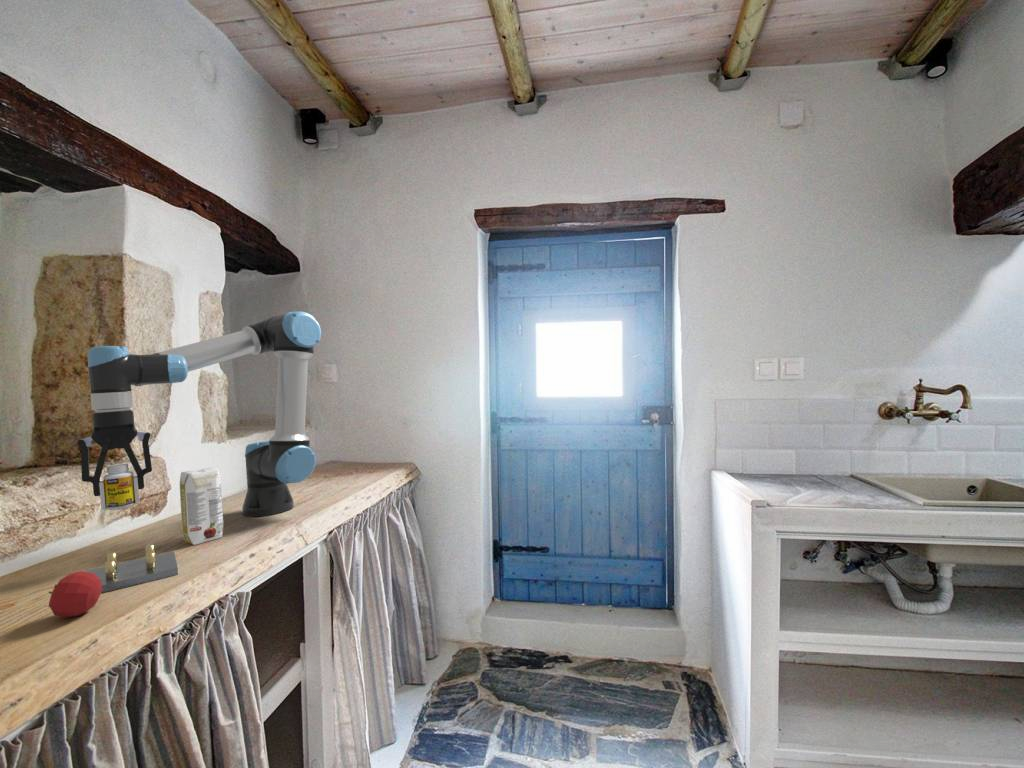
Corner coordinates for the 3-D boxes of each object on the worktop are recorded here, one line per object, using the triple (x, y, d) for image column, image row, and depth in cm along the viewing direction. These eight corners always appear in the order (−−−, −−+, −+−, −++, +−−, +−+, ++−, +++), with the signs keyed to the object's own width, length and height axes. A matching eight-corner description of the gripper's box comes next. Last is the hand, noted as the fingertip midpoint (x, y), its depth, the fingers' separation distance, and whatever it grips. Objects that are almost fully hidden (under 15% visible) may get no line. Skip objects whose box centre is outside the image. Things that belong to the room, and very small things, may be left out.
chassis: (174, 557, 115) (173, 537, 115) (178, 574, 104) (176, 551, 104) (86, 577, 105) (85, 555, 105) (80, 598, 94) (78, 573, 94)
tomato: (104, 563, 88) (55, 562, 86) (81, 603, 82) (27, 603, 80) (113, 585, 93) (66, 585, 91) (91, 625, 87) (40, 626, 85)
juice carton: (226, 537, 129) (222, 468, 129) (190, 547, 122) (186, 474, 122) (215, 532, 133) (211, 466, 133) (180, 542, 126) (176, 472, 126)
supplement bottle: (104, 512, 109) (100, 469, 109) (108, 507, 114) (104, 465, 114) (134, 507, 112) (130, 465, 112) (137, 502, 117) (133, 462, 117)
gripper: (160, 406, 121) (167, 495, 122) (61, 414, 110) (70, 511, 110) (161, 407, 115) (169, 500, 116) (57, 415, 104) (66, 518, 105)
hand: (121, 505), depth 113 cm, fingers closed on supplement bottle, 6 cm apart
